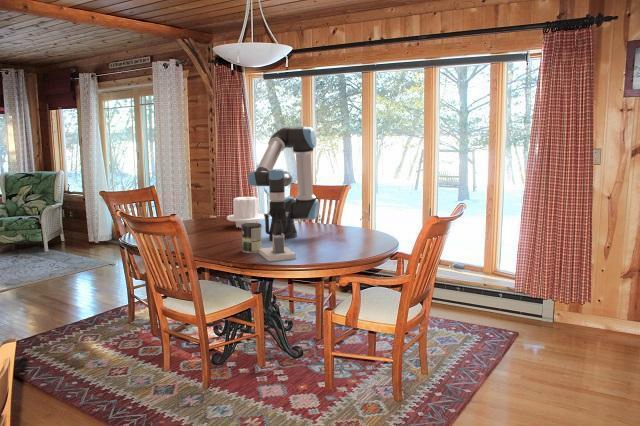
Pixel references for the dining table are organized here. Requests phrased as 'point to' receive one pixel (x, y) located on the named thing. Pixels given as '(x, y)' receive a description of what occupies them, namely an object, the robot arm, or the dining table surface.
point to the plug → (278, 244)
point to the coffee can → (251, 237)
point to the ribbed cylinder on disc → (245, 211)
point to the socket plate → (277, 254)
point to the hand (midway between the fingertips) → (278, 246)
